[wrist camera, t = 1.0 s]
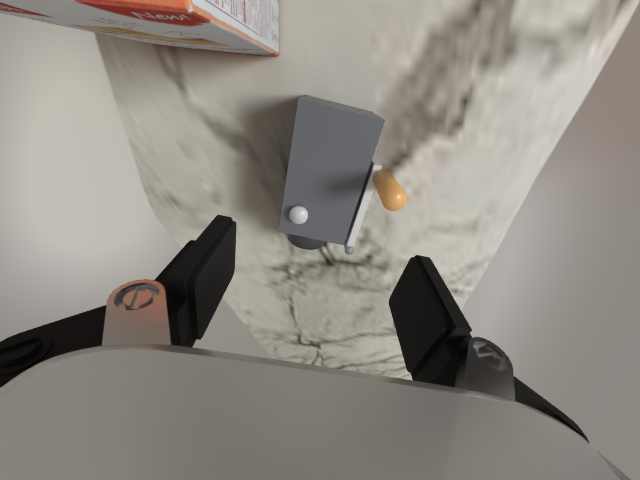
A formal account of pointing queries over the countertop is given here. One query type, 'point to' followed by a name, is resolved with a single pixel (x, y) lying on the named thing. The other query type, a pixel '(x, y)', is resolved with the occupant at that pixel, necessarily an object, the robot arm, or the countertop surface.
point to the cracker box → (166, 21)
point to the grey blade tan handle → (386, 189)
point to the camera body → (326, 170)
